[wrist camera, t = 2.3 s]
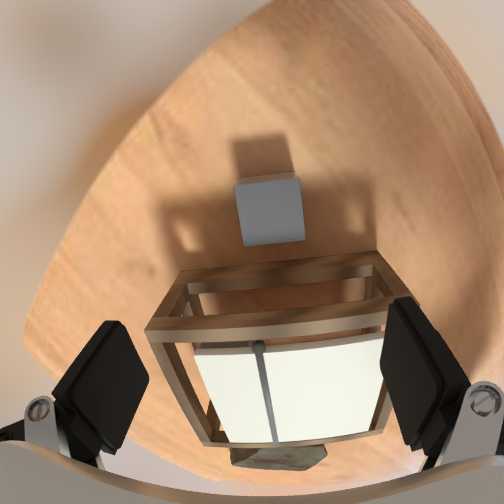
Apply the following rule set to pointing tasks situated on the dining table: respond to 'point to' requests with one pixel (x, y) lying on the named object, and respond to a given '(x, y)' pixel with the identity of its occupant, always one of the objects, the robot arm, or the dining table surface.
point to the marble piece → (279, 457)
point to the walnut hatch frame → (268, 325)
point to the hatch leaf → (293, 387)
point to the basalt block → (270, 209)
